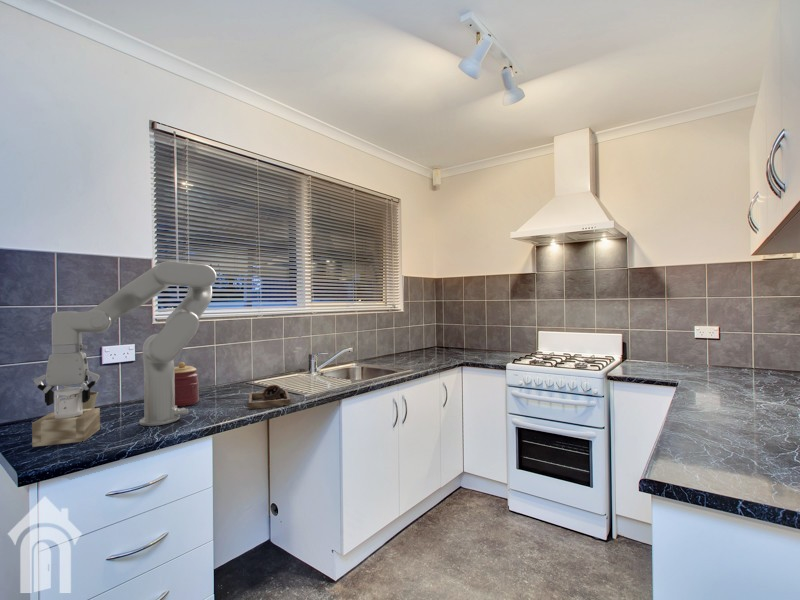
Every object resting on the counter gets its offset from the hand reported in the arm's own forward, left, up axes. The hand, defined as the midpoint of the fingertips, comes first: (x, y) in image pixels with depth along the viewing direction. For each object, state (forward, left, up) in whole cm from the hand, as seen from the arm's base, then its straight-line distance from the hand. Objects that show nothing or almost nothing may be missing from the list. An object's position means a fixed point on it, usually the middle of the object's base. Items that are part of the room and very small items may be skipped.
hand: (67, 403), depth 129 cm
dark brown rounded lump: (-64, -23, -11) cm, 69 cm away
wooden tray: (-62, -23, -11) cm, 67 cm away
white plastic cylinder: (0, 0, -10) cm, 10 cm away
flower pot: (+5, -26, -11) cm, 29 cm away
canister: (-27, -35, -11) cm, 46 cm away
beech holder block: (0, 0, -11) cm, 11 cm away
